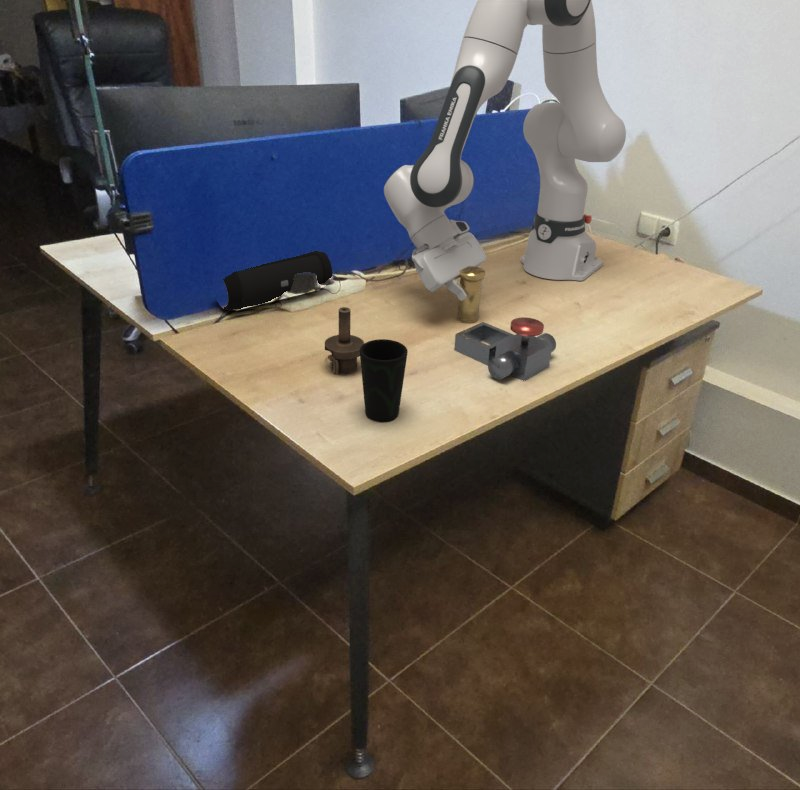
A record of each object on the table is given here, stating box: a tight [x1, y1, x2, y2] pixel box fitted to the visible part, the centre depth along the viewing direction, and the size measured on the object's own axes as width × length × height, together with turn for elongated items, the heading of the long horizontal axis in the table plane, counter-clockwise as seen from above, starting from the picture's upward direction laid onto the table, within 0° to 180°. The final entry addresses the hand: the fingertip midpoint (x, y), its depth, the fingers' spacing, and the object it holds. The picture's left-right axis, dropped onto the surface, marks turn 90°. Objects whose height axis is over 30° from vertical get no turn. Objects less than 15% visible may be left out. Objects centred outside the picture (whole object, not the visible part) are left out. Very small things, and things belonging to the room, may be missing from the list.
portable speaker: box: [223, 251, 333, 311], centre depth 155 cm, size 26×10×10 cm, turn 128°
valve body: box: [453, 316, 557, 382], centre depth 134 cm, size 16×17×9 cm
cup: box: [359, 338, 409, 423], centre depth 115 cm, size 8×8×12 cm
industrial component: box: [324, 306, 365, 375], centre depth 128 cm, size 9×7×12 cm
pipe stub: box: [456, 266, 486, 324], centre depth 149 cm, size 5×5×11 cm
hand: (472, 294), depth 148 cm, fingers closed on pipe stub, 4 cm apart
